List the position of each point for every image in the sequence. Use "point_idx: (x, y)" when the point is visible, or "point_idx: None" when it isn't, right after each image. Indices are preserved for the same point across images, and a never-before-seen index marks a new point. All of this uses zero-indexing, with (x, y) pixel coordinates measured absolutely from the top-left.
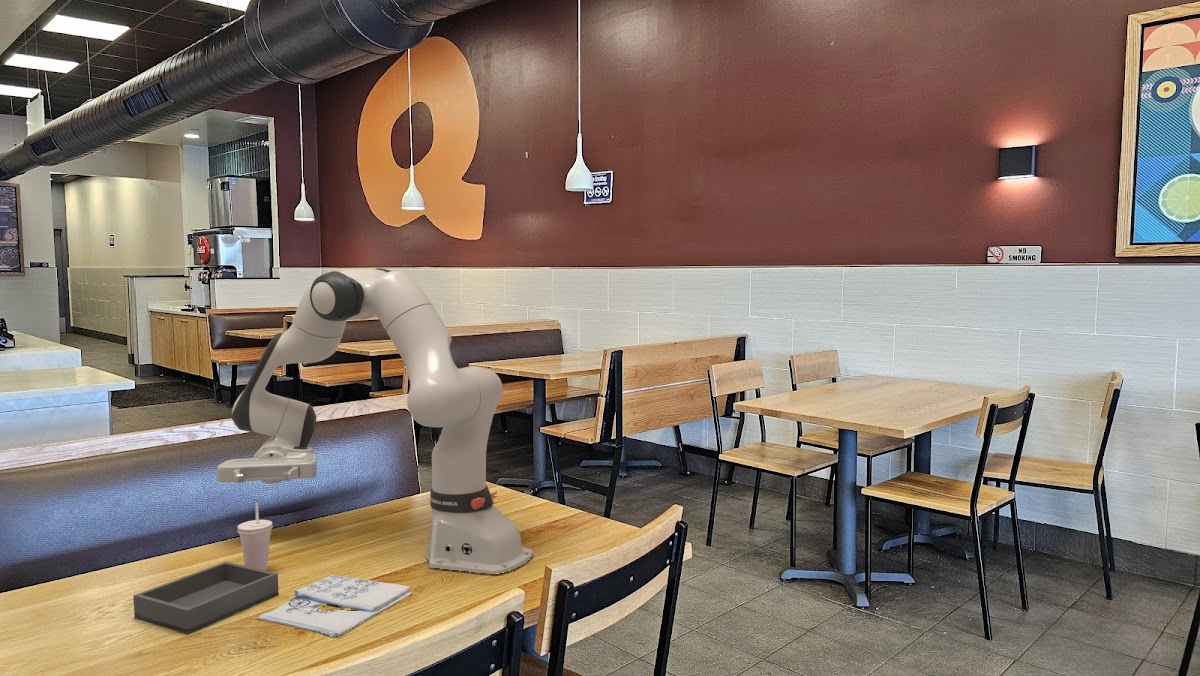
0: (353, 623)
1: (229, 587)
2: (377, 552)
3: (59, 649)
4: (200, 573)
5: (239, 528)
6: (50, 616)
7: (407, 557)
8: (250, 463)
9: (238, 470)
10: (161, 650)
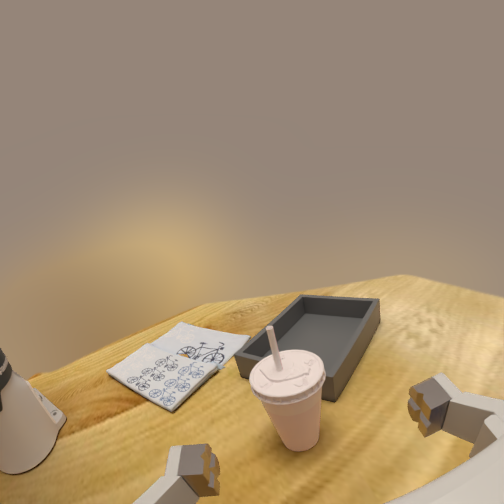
0: (168, 332)
1: None
2: (95, 490)
3: (393, 287)
4: (347, 345)
5: (310, 352)
6: (464, 305)
7: (69, 457)
8: (494, 494)
9: (489, 417)
10: None
